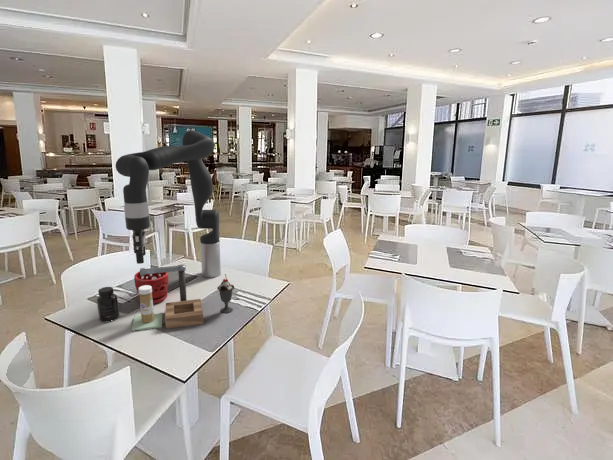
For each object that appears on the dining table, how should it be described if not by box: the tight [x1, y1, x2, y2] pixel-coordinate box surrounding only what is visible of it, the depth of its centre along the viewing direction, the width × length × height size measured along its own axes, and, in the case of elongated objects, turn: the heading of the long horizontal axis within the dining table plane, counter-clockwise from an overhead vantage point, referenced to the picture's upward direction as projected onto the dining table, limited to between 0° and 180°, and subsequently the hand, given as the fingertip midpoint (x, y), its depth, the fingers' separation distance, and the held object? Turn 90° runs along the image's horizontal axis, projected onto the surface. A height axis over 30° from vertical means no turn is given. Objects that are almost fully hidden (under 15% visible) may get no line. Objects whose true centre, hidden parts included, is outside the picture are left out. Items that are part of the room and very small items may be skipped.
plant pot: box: [133, 270, 170, 304], centre depth 151 cm, size 13×13×12 cm
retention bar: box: [139, 264, 186, 277], centre depth 141 cm, size 17×3×2 cm, turn 110°
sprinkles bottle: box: [137, 285, 155, 323], centre depth 132 cm, size 5×5×14 cm
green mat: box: [131, 312, 164, 332], centre depth 134 cm, size 10×10×1 cm
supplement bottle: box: [96, 286, 120, 322], centre depth 135 cm, size 7×7×12 cm
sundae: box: [217, 273, 235, 314], centre depth 143 cm, size 7×7×15 cm
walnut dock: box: [164, 270, 204, 330], centre depth 139 cm, size 19×13×16 cm
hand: (141, 259), depth 127 cm, fingers open, 8 cm apart
